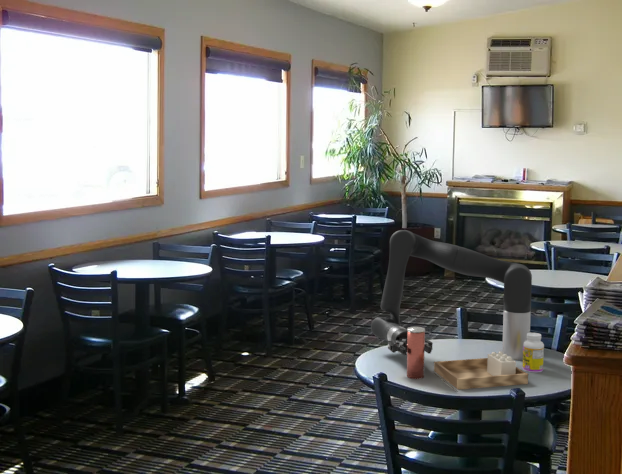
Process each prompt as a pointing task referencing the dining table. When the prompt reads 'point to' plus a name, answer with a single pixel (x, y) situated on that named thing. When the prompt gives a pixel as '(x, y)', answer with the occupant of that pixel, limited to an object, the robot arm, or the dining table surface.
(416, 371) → the coffee tin
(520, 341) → the robot arm
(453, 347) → the dining table surface
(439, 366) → the tray
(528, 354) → the supplement bottle
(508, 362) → the white toy brick
